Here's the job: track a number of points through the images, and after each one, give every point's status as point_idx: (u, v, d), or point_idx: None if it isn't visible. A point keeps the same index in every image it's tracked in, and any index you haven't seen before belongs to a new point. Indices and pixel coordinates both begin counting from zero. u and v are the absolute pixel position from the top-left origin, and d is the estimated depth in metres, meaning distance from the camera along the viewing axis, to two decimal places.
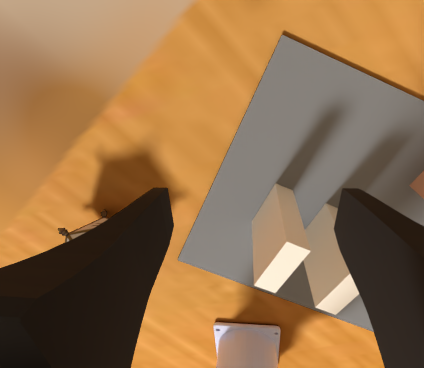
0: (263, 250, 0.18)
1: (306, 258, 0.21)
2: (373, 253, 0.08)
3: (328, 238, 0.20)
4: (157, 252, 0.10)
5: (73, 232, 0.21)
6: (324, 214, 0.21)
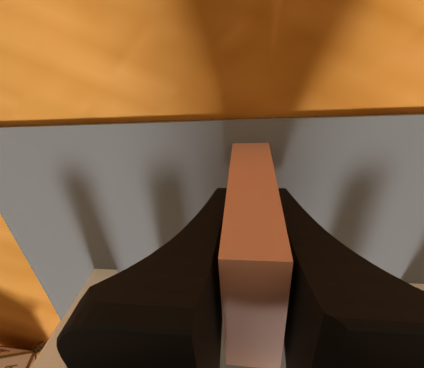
0: None
1: None
2: None
3: None
4: None
5: None
6: None
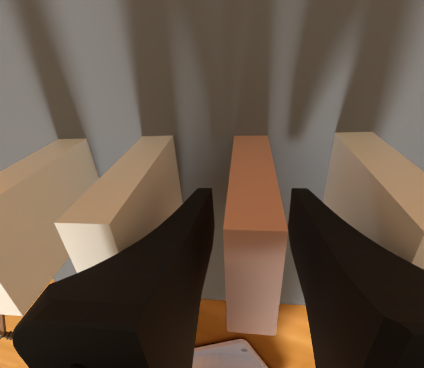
0: None
1: None
2: (308, 251, 0.08)
3: None
4: (206, 254, 0.10)
5: None
6: None
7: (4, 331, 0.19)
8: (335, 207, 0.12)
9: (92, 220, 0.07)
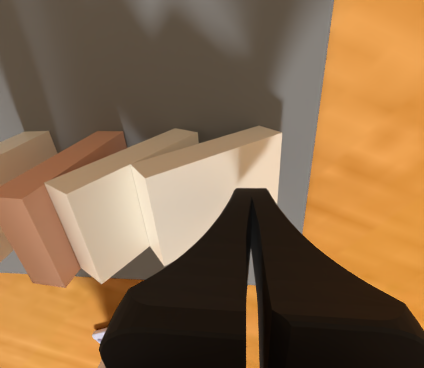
0: None
1: None
2: (257, 249, 0.08)
3: None
4: (248, 255, 0.10)
5: None
6: None
7: None
8: None
9: None
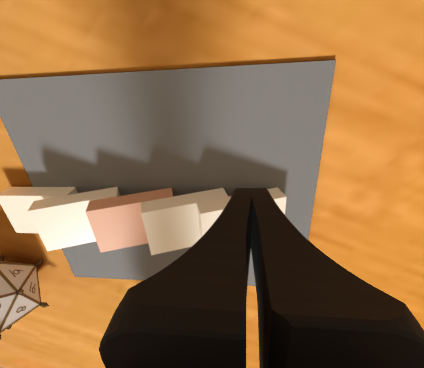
0: None
1: None
2: (257, 249, 0.08)
3: None
4: (248, 255, 0.10)
5: None
6: None
7: (40, 301, 0.29)
8: None
9: (31, 207, 0.22)
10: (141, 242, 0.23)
